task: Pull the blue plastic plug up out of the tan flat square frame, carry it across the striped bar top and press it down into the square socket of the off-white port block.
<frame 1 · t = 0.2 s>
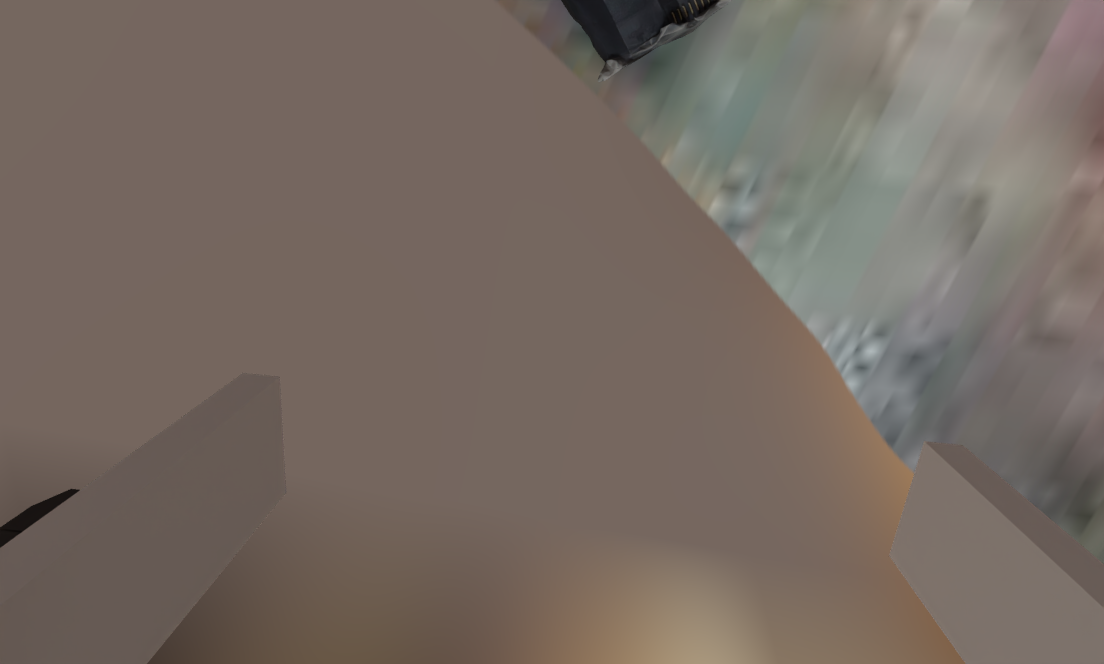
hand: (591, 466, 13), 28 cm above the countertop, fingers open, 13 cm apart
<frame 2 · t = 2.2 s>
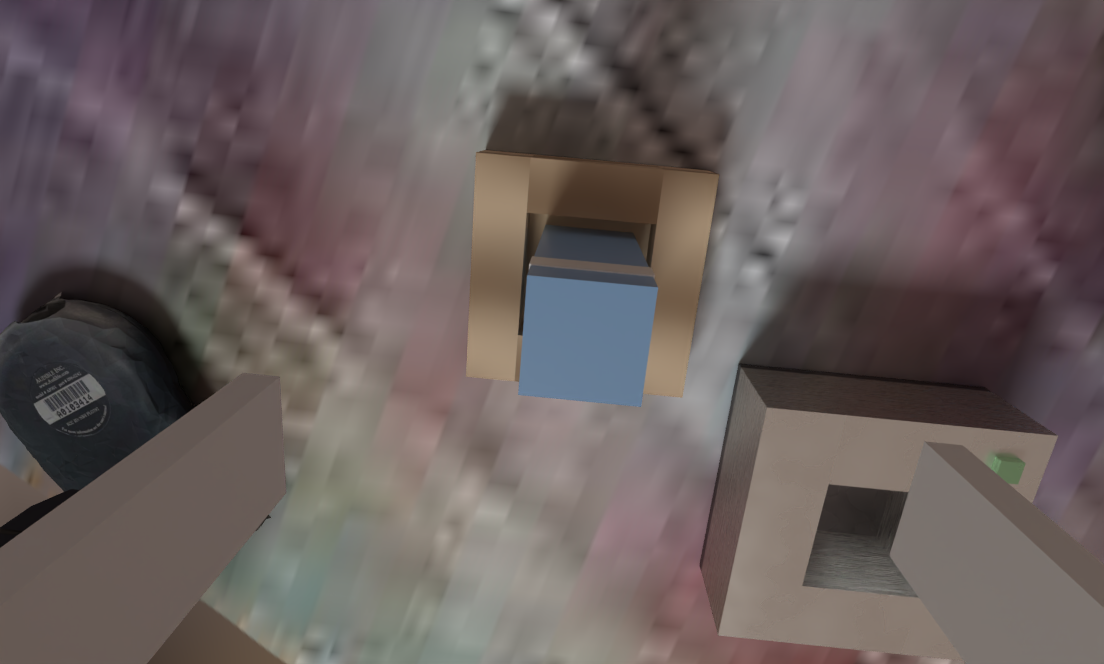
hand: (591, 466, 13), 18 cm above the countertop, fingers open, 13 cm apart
tan flat square frame: (584, 269, 30), on the countertop
electronic device: (146, 422, 34), on the countertop
port block: (833, 481, 33), on the countertop
plug: (584, 271, 29), resting on tan flat square frame
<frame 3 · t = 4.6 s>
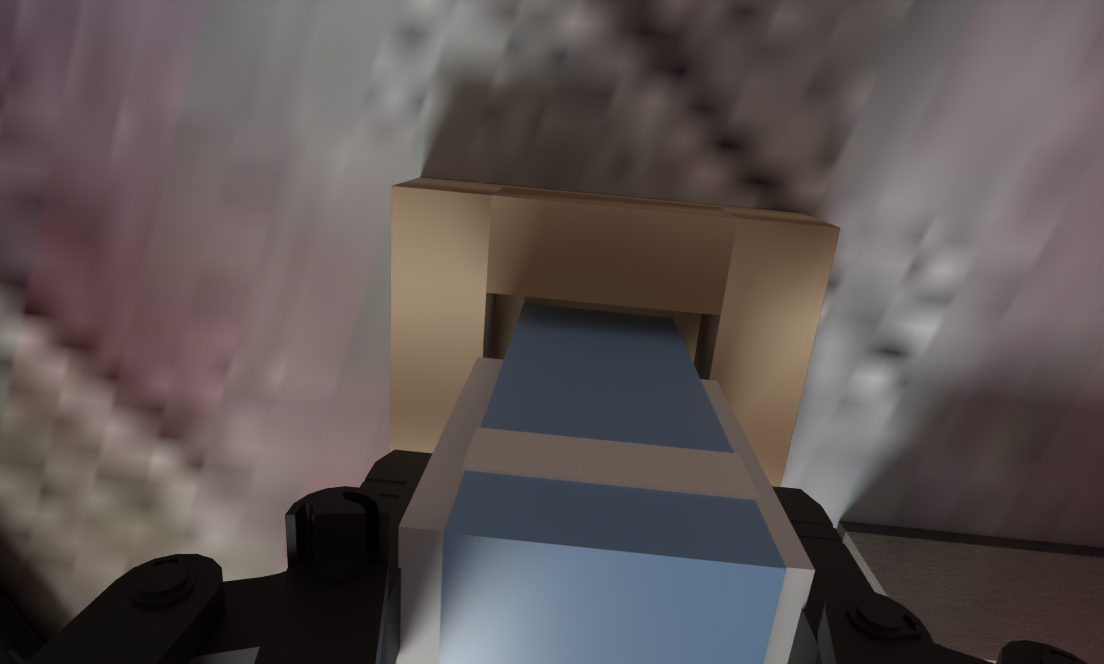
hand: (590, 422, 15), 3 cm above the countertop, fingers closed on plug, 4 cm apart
tan flat square frame: (589, 372, 18), on the countertop
plug: (589, 379, 17), resting on tan flat square frame, touching gripper
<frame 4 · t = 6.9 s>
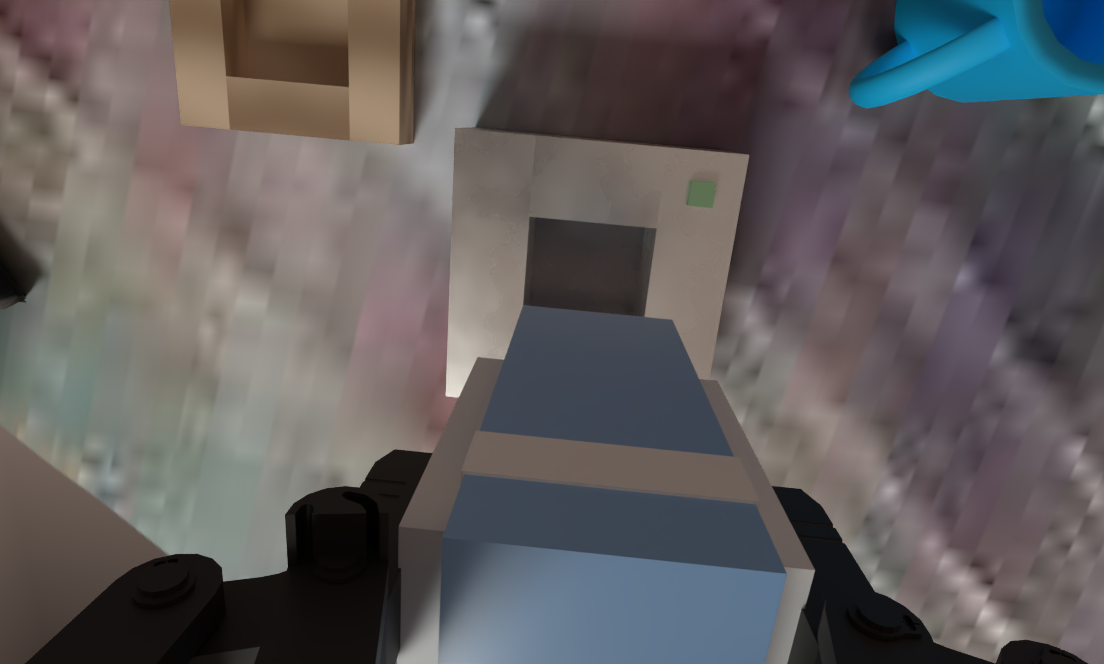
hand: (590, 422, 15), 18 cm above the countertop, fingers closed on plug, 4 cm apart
tan flat square frame: (308, 21, 29), on the countertop
mug: (944, 30, 28), on the countertop
port block: (585, 260, 32), on the countertop
plug: (589, 381, 17), point 16 cm above the countertop, touching gripper
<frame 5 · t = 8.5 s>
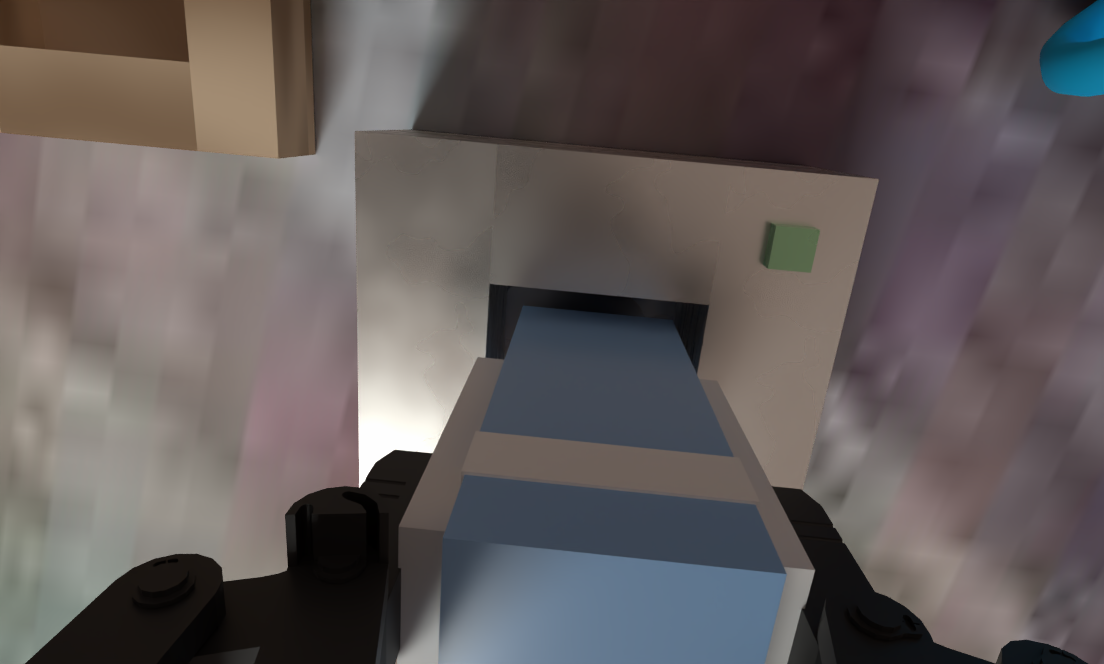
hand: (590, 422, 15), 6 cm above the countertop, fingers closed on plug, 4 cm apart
port block: (586, 333, 21), on the countertop
plug: (589, 381, 17), point 4 cm above the countertop, touching gripper
when the fingers open (6 cm above the countertop, at t = 9.5 s): plug drops 2 cm, resting on port block.
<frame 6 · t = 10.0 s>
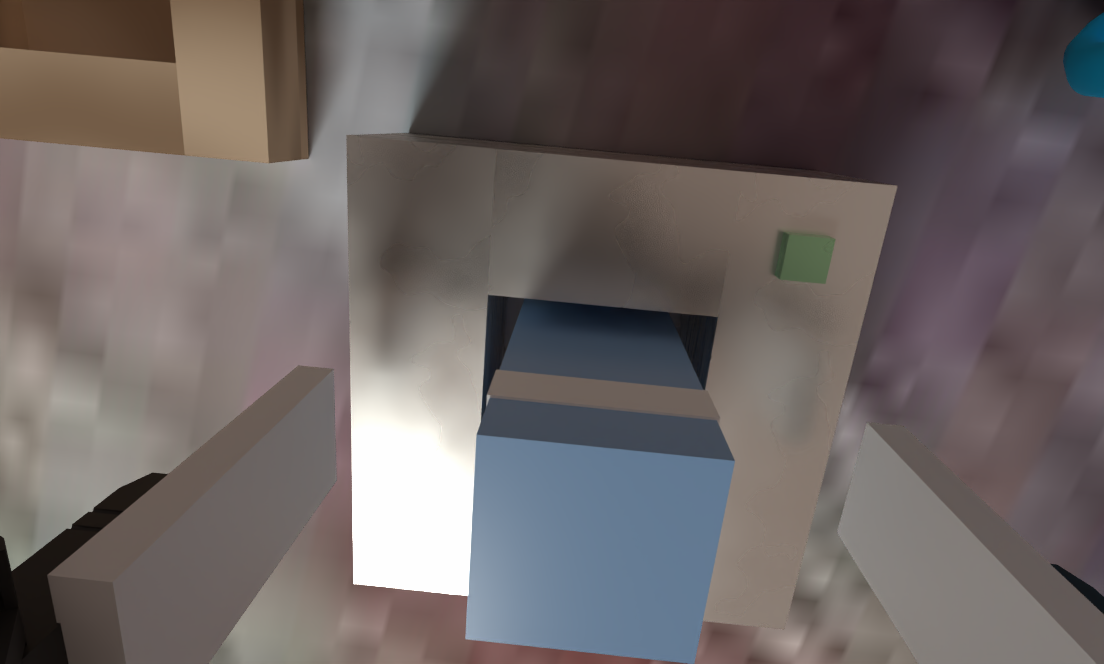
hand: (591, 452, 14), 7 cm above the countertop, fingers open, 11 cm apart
port block: (589, 343, 20), on the countertop
plug: (588, 349, 20), resting on port block
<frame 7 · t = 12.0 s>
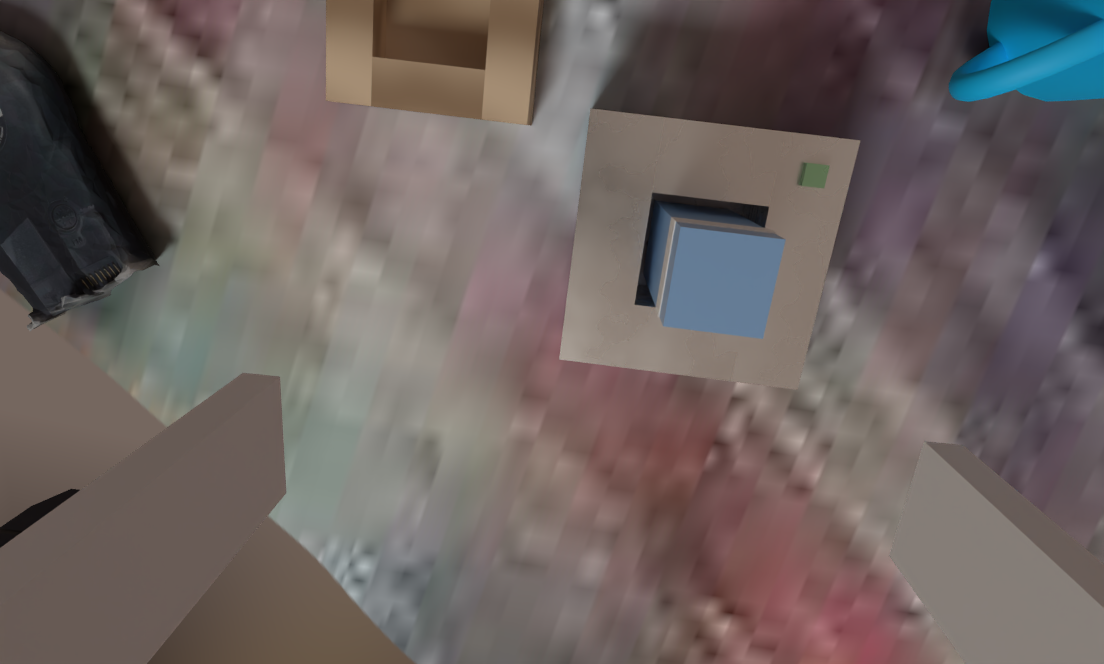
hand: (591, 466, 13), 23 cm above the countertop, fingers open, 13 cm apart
tan flat square frame: (443, 10, 32), on the countertop
electronic device: (49, 172, 36), on the countertop
mug: (1032, 34, 31), on the countertop
port block: (684, 240, 34), on the countertop
plug: (685, 242, 34), resting on port block
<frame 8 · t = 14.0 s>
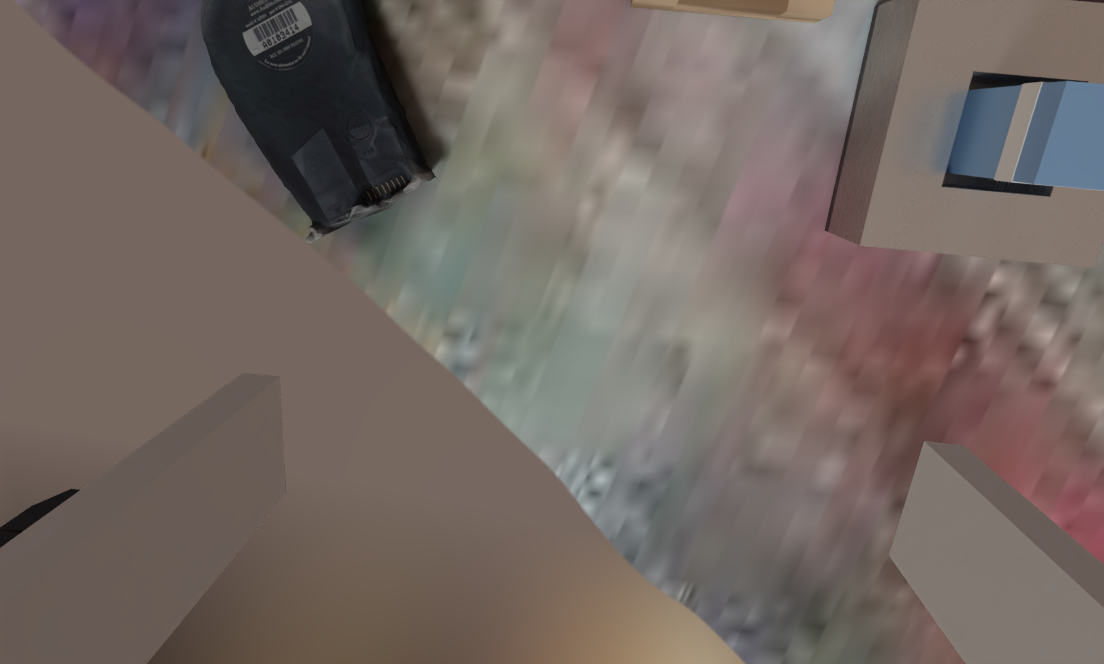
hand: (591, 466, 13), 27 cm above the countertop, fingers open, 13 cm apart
electronic device: (325, 88, 37), on the countertop
port block: (955, 134, 35), on the countertop
plug: (959, 135, 35), resting on port block
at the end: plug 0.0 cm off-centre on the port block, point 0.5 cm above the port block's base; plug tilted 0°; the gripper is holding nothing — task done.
